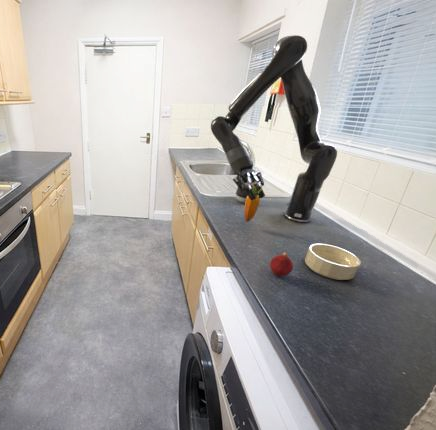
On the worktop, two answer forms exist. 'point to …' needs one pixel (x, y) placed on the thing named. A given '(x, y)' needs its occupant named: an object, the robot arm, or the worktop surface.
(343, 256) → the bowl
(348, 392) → the worktop surface
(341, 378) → the worktop surface
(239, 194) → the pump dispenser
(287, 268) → the onion
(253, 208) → the carrot
